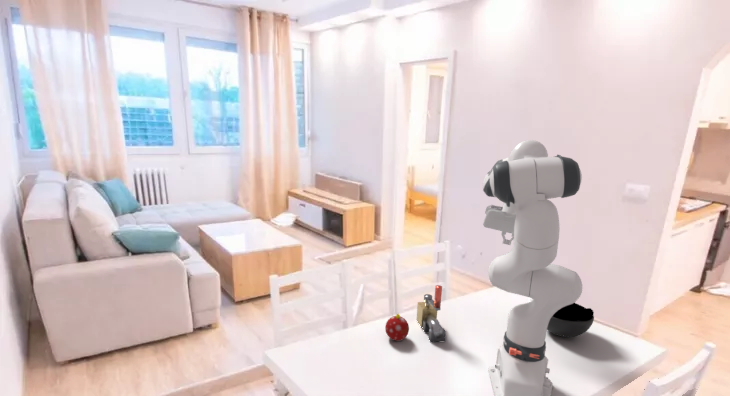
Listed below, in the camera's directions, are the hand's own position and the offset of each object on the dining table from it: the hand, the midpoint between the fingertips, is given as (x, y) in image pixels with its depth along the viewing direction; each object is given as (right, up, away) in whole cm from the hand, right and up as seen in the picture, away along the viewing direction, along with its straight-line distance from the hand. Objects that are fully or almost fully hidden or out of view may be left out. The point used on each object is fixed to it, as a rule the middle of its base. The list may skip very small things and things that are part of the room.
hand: (506, 244), depth 147 cm
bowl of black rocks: (+21, -35, 0) cm, 41 cm away
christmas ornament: (-44, -34, -8) cm, 56 cm away
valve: (-30, -33, -2) cm, 45 cm away
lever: (-29, -23, -2) cm, 37 cm away
